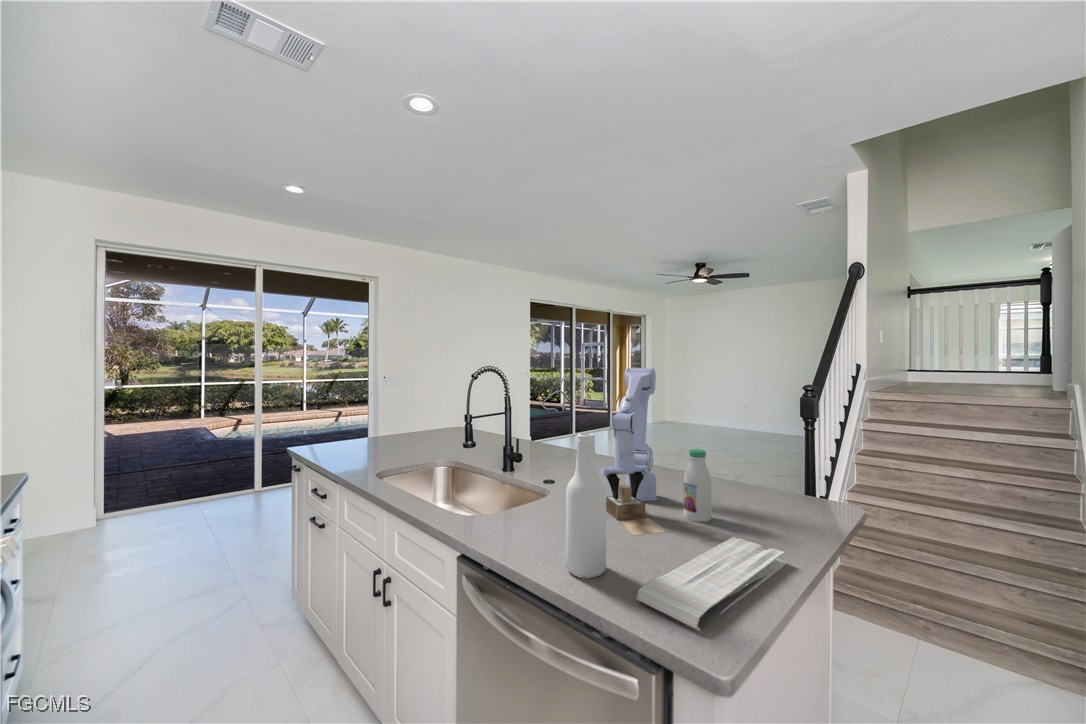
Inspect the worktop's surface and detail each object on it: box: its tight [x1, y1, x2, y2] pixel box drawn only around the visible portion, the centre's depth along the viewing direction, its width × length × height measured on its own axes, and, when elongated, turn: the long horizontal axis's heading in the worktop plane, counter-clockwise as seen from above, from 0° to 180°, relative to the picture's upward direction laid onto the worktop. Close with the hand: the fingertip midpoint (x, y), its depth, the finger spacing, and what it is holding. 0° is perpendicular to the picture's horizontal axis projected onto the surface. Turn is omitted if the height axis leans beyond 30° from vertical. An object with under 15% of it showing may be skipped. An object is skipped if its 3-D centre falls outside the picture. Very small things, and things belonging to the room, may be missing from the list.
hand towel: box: [636, 536, 788, 632], centre depth 92 cm, size 12×4×40 cm
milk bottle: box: [683, 448, 712, 523], centre depth 129 cm, size 8×8×20 cm
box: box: [606, 495, 646, 521], centre depth 133 cm, size 9×9×4 cm
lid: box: [608, 483, 643, 505], centre depth 133 cm, size 8×8×5 cm
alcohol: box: [565, 432, 607, 578], centre depth 98 cm, size 9×9×30 cm
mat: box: [618, 518, 668, 536], centre depth 122 cm, size 10×10×1 cm
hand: (624, 497), depth 133 cm, fingers open, 5 cm apart
